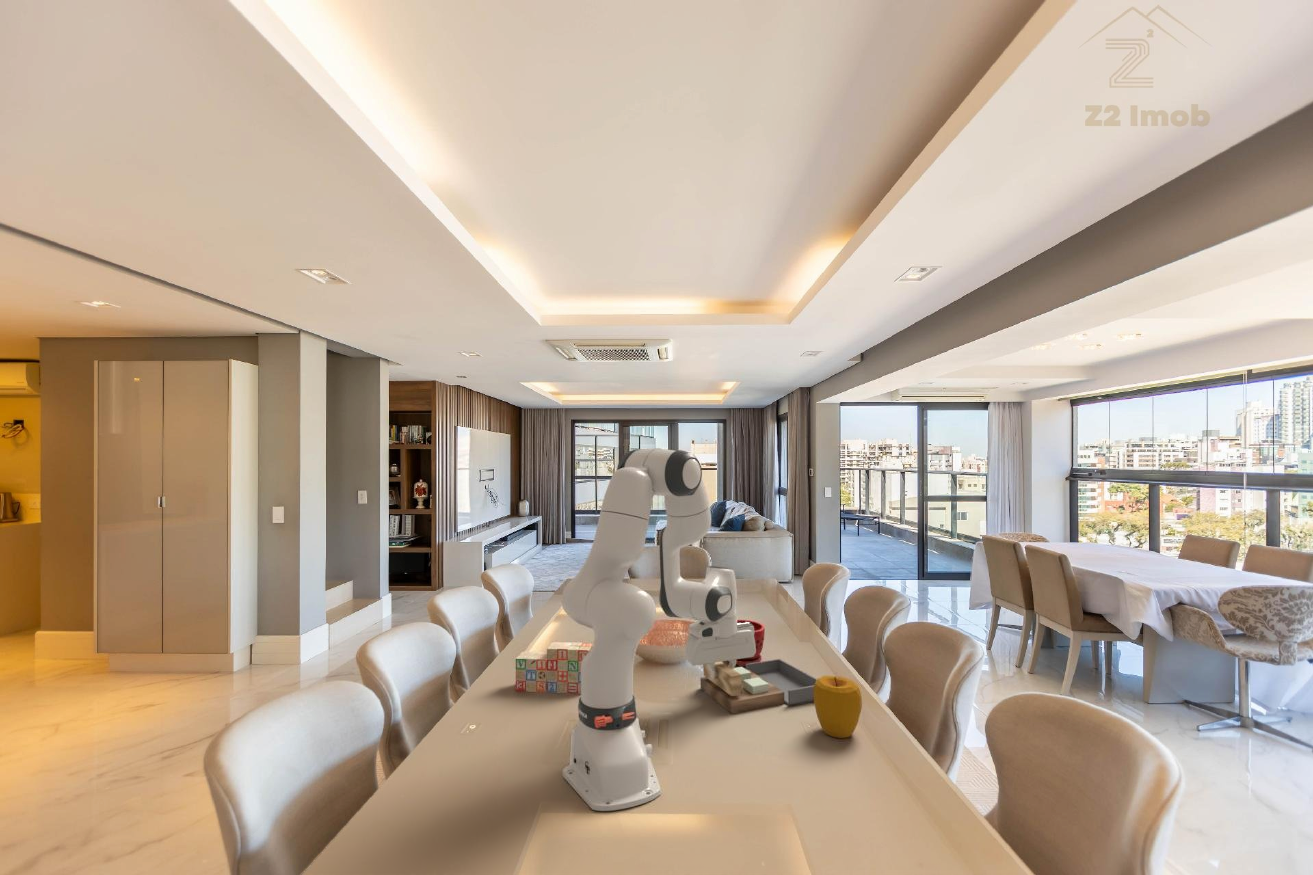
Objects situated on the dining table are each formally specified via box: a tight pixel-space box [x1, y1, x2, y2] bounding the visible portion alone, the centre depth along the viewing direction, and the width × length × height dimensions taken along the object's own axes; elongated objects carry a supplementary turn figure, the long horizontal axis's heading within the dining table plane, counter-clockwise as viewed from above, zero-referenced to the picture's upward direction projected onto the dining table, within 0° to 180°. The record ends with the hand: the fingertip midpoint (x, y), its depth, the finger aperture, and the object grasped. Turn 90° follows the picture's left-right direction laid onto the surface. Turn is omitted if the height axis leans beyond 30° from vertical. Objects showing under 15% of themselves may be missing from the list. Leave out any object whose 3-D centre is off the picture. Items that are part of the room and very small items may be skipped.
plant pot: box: [735, 619, 766, 667], centre depth 180 cm, size 13×13×12 cm
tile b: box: [733, 666, 751, 681], centre depth 158 cm, size 5×5×2 cm
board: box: [700, 670, 786, 715], centre depth 153 cm, size 18×16×3 cm
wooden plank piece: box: [702, 661, 743, 696], centre depth 151 cm, size 16×3×5 cm, turn 22°
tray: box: [745, 658, 818, 707], centre depth 158 cm, size 22×12×4 cm, turn 22°
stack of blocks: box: [515, 641, 593, 695], centre depth 159 cm, size 21×6×12 cm, turn 85°
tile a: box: [743, 677, 769, 694], centre depth 150 cm, size 5×5×2 cm
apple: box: [813, 675, 863, 739], centre depth 131 cm, size 11×11×13 cm
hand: (721, 676), depth 151 cm, fingers closed on wooden plank piece, 3 cm apart
